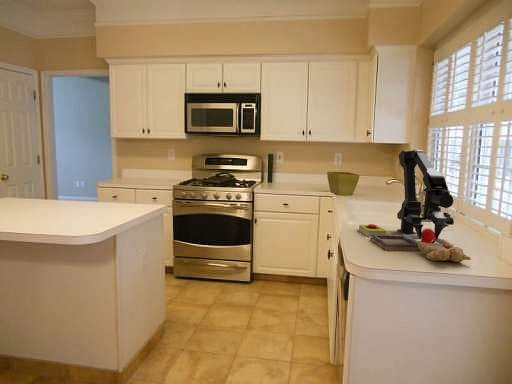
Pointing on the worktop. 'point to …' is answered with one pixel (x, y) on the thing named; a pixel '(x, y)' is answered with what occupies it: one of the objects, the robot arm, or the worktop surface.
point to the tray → (421, 238)
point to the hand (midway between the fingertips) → (427, 239)
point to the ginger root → (443, 252)
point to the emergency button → (371, 230)
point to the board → (394, 243)
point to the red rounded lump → (428, 236)
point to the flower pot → (342, 182)
